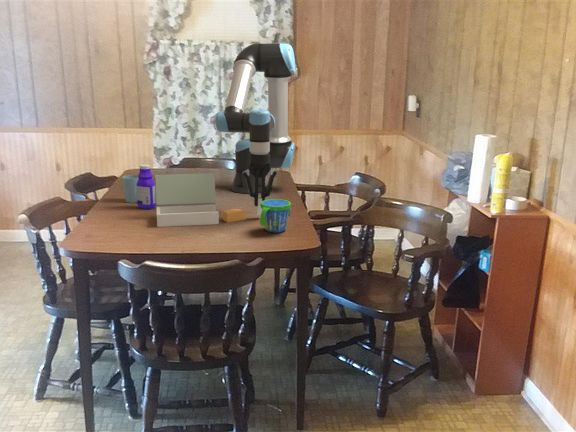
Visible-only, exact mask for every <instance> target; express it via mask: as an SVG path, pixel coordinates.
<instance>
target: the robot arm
mask: <svg viewBox="0 0 576 432" xmlns="http://www.w3.org/2000/svg"><path fill="white" fill-rule="evenodd" d="M232 70H233V75H232V79H231V83H230V87H229V92H228V95H227V99H226V103H225V107H224V111H220V112H218V113H216V116H215V126H216V129H217V131H218V132H222V133H243V134H246V133H247V134H249V138H246V139H241V140H238V141H237V142H235V149H234V150H235V151H234V155H235V157H234V158H235V163H234V164H235V175H234V178H233V181H232V183H231V191H232V192H234V193H235V192H236V193H241V194H249V196H250V197H251V198H253V199H254V200H253V203H254V206H255V207H256V214H257V216H261V212H262V208H261V206H260V203H261V202H262V201H264V200H266V198H267V197H270V195H271V191H272V187H273V182H274V179H275V177H276V176H277V171H276V170H274V169H280V170H282V169H283V170H284V169H290V168H291V167H292V165H293V161H294V157H295V149H296V143H295V142H292V137H291V136H289V80H290V79H291V78H292V74H293V73H295V71H296V59H295V52H294V48H293V47H292V45H290V44H289V43H282V42H280V43H275V42H273V43H270V42H269V43H261V42H260V43H258V42H257V43H252V44H249V45H248V46H246V47H245V48H243V49H242V50H241V51H240V52H239V53H238V55H237V56H236V58H235V59H234V62H233V65H232ZM256 73H263V77H264V78H265V79H266V80H267V89H268V90H267V103H268V105H267V106H268V108H267V109H268V110H266V109H251V110H250V111H249V112H245V110H246V109H245V108H246V104H247V99H248V95H249V91H250V87H251V84H252V83H251V82H252V80H253V79H252V78H253V77H254V76H255V75H256ZM268 174H269V177H268V181H267V182H268V183H267V186H266V178H267V176H268ZM259 193H260V196H259Z"/></svg>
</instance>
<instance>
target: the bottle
mask: <svg viewBox="0 0 576 432" xmlns="http://www.w3.org/2000/svg"><path fill="white" fill-rule="evenodd" d="M137 175H138V177H139V179H138V181H137V202H136V203H137V207H138V208H139V209H143V210H152V209H154V208H155V207H156V206H157V203H156V181H155V179H154V178H153V177H154V175H153V173H152V170H151V164H146V163H145V164H143V163H142V164H140V165H139V173H138V174H137Z"/></svg>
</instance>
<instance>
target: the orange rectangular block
mask: <svg viewBox="0 0 576 432" xmlns="http://www.w3.org/2000/svg"><path fill="white" fill-rule="evenodd" d="M221 213H222V214H221V216H222V220H223V221H225V222H226V223H232V222H238V221H245V211H244V210H243V209H241V208H234V209H227V210H226V209H225V210H222V212H221Z"/></svg>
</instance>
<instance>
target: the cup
mask: <svg viewBox="0 0 576 432" xmlns="http://www.w3.org/2000/svg"><path fill="white" fill-rule="evenodd" d="M138 175H139V174H129V175H122V177H121V181H122V186H123V187H122V188H123V192H124V199H125V202H126V203H137V181H138V179H139V177H138Z"/></svg>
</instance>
